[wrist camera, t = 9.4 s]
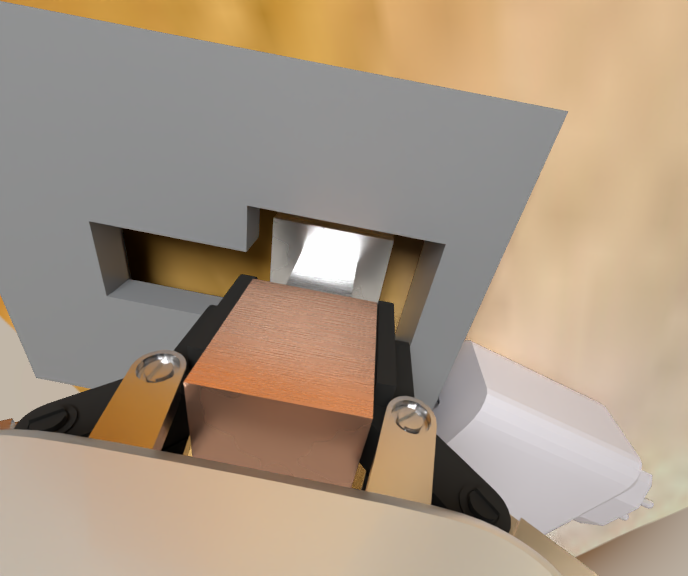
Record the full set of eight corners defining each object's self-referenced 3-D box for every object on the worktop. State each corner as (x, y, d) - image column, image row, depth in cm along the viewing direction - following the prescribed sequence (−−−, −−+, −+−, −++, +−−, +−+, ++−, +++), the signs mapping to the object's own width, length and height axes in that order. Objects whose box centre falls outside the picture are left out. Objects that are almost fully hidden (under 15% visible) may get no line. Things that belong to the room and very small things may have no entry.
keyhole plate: (524, 104, 13) (568, 111, 10) (409, 399, 21) (413, 452, 18) (-14, 0, 13) (-138, -26, 10) (86, 335, 21) (36, 377, 18)
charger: (561, 501, 25) (381, 426, 23) (679, 434, 20) (467, 331, 18) (595, 582, 21) (380, 501, 19) (751, 521, 16) (490, 402, 14)
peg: (393, 226, 15) (402, 407, 7) (370, 315, 18) (357, 527, 9) (283, 206, 15) (156, 359, 7) (277, 297, 18) (179, 492, 10)
